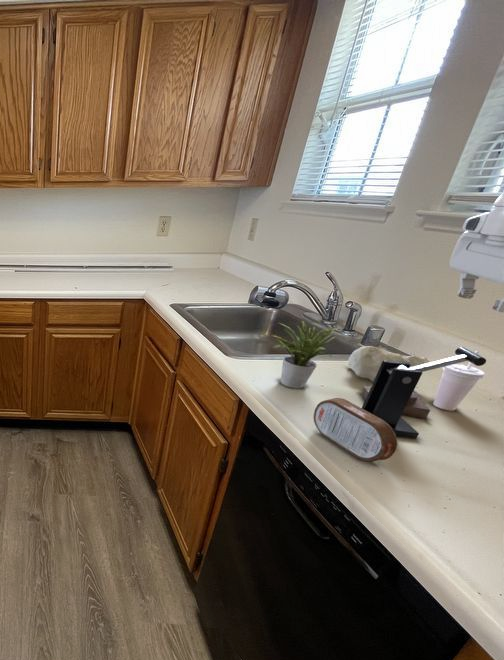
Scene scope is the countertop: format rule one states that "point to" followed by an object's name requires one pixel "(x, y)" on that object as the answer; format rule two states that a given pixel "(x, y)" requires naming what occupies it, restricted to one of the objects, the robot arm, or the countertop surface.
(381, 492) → the countertop surface
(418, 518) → the countertop surface
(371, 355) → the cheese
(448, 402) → the smoothie
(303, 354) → the house plant
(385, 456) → the tin
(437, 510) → the countertop surface
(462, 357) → the lever
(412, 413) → the button block
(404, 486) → the countertop surface
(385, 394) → the bracket
